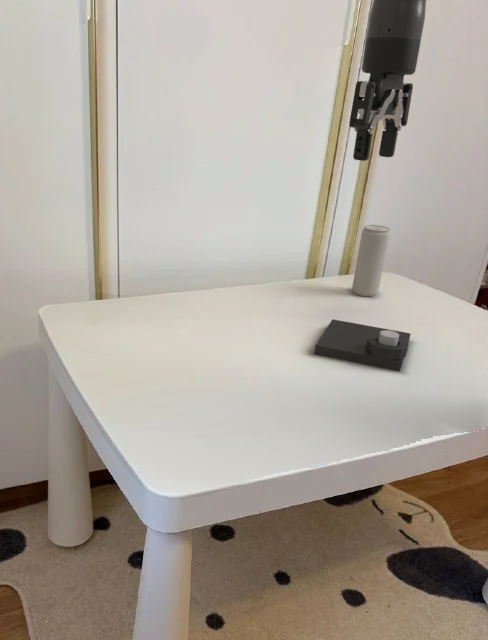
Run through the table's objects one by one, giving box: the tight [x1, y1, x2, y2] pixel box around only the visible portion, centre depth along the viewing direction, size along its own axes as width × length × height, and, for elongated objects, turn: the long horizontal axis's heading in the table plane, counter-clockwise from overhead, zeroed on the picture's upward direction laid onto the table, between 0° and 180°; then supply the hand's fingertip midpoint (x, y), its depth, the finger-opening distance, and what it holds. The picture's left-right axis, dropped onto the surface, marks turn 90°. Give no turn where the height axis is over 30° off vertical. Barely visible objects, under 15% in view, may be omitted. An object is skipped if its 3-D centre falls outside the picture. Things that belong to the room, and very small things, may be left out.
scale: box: [313, 318, 411, 372], centre depth 93 cm, size 12×12×3 cm
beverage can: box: [351, 224, 391, 297], centre depth 114 cm, size 5×5×12 cm
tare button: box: [378, 329, 399, 346], centre depth 88 cm, size 3×3×2 cm
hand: (373, 158), depth 96 cm, fingers open, 8 cm apart
